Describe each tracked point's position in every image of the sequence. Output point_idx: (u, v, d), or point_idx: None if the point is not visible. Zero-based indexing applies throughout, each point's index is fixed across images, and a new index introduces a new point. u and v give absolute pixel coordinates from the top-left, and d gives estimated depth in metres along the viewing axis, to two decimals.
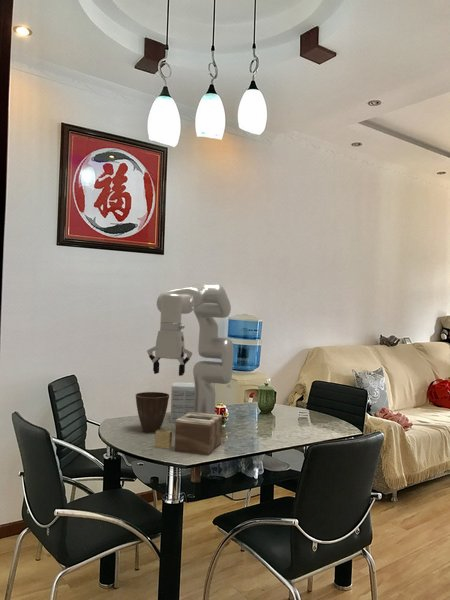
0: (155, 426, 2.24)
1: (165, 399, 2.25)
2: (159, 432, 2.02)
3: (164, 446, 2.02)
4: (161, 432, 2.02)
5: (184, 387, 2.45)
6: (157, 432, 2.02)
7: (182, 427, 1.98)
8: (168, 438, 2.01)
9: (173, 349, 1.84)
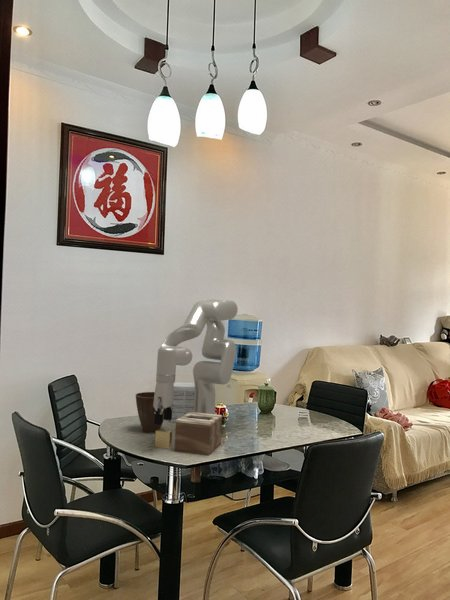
0: (155, 426, 2.24)
1: None
2: (159, 432, 2.02)
3: (164, 446, 2.02)
4: (161, 432, 2.02)
5: (184, 387, 2.45)
6: (157, 432, 2.02)
7: (182, 427, 1.98)
8: (168, 438, 2.01)
9: (172, 397, 2.04)
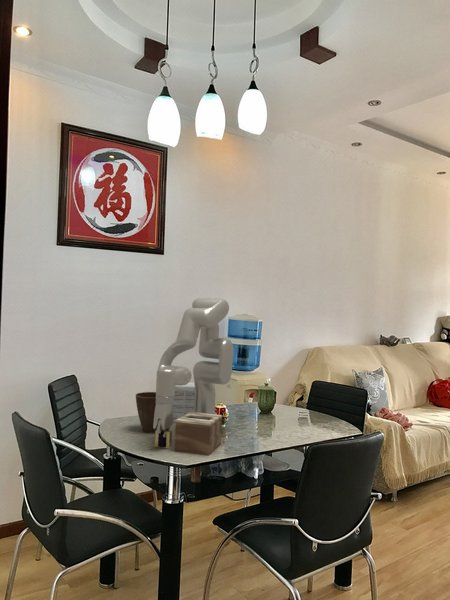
0: None
1: None
2: None
3: None
4: None
5: (184, 387, 2.45)
6: None
7: (182, 427, 1.98)
8: (168, 438, 2.01)
9: (172, 418, 2.05)
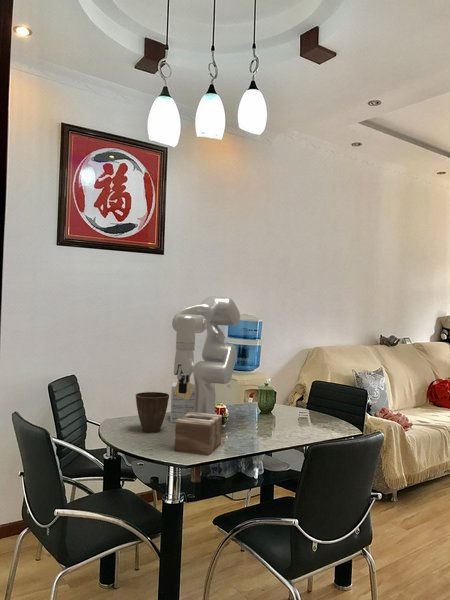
0: (155, 426, 2.24)
1: (165, 399, 2.25)
2: (175, 390, 2.04)
3: (189, 390, 2.02)
4: (176, 388, 2.04)
5: None
6: (175, 392, 2.04)
7: (182, 427, 1.98)
8: None
9: (192, 365, 2.05)
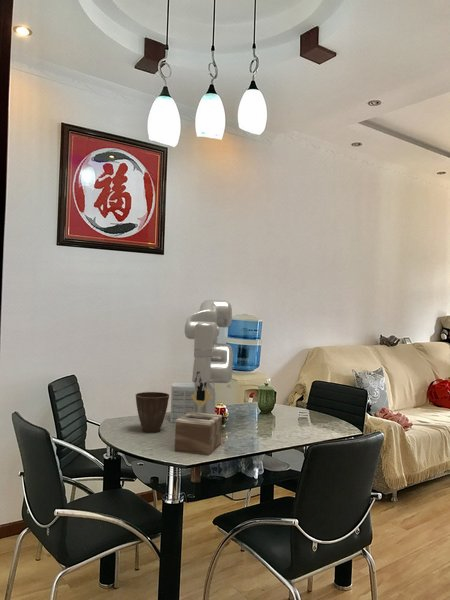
0: (155, 426, 2.24)
1: (165, 399, 2.25)
2: (197, 404, 2.03)
3: None
4: (196, 402, 2.03)
5: (184, 387, 2.45)
6: (199, 405, 2.03)
7: (182, 427, 1.98)
8: (195, 393, 2.04)
9: (209, 372, 2.06)
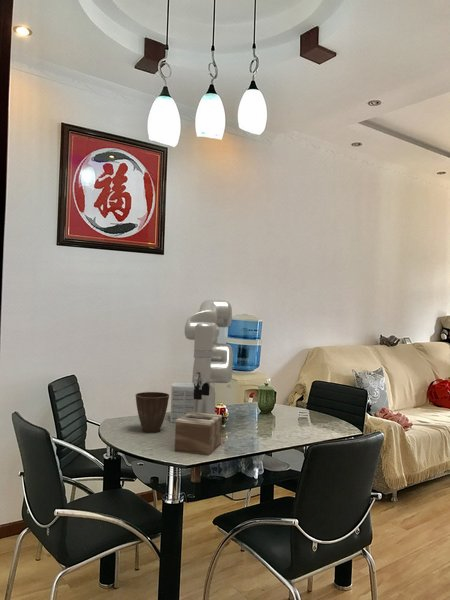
0: (155, 426, 2.24)
1: (165, 399, 2.25)
2: None
3: None
4: None
5: (184, 387, 2.45)
6: None
7: (182, 427, 1.98)
8: None
9: (209, 373, 2.06)
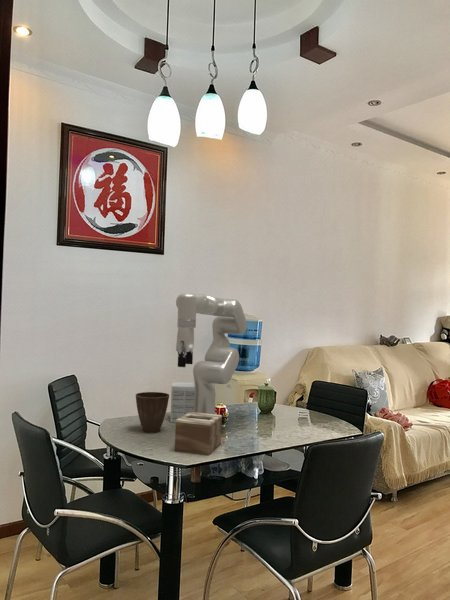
0: (155, 426, 2.24)
1: (165, 399, 2.25)
2: None
3: None
4: None
5: (184, 387, 2.45)
6: None
7: (182, 427, 1.98)
8: None
9: (193, 342, 2.13)
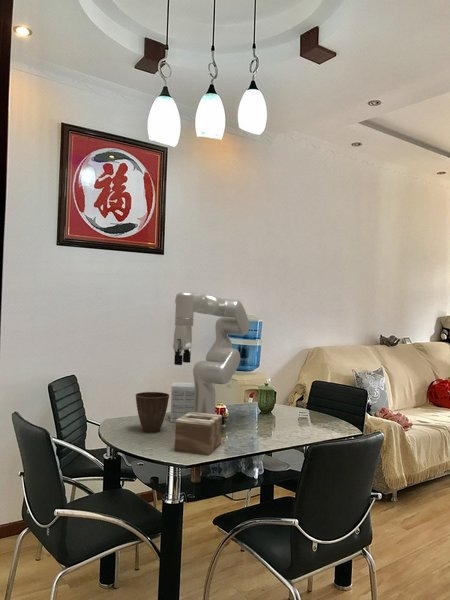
0: (155, 426, 2.24)
1: (165, 399, 2.25)
2: None
3: None
4: None
5: (184, 387, 2.45)
6: None
7: (182, 427, 1.98)
8: None
9: (190, 340, 2.14)
